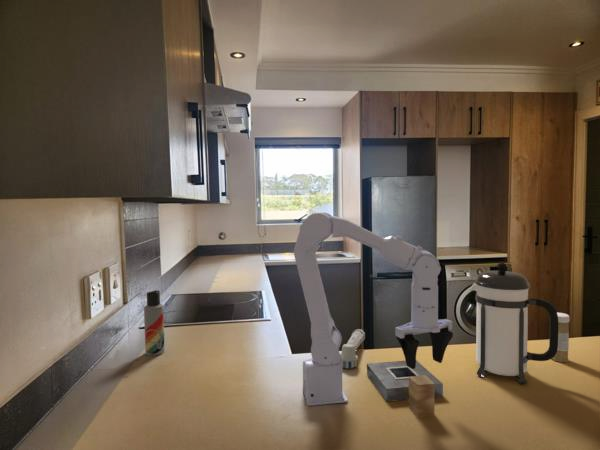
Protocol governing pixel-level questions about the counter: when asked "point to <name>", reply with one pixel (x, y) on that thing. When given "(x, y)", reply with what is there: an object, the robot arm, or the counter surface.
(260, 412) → the counter surface
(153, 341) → the lotion bottle
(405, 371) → the grey socket base
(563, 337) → the sprinkles bottle
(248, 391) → the counter surface
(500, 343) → the coffee press
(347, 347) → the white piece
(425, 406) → the oak peg
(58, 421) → the counter surface
